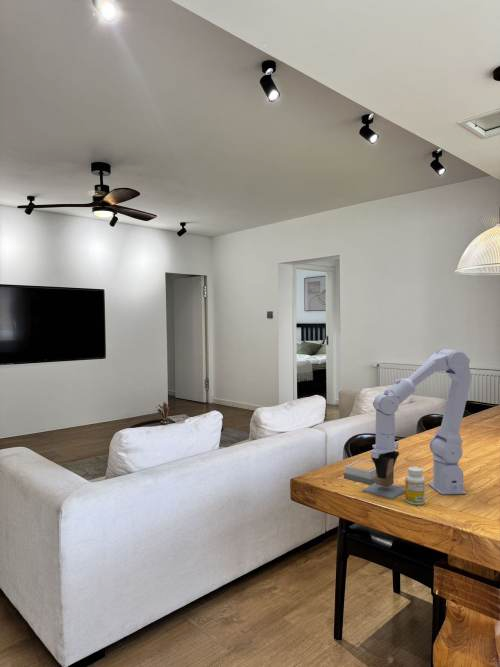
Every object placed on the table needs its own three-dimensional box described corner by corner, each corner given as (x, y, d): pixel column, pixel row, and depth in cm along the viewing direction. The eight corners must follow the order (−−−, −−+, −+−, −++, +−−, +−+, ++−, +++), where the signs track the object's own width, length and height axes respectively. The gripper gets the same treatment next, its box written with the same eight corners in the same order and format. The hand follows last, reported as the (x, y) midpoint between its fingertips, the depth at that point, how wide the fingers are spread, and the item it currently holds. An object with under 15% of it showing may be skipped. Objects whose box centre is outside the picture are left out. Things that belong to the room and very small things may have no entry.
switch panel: (384, 476, 159) (384, 465, 159) (370, 484, 151) (370, 472, 151) (358, 470, 166) (358, 459, 166) (343, 477, 158) (343, 466, 158)
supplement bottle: (409, 496, 141) (409, 464, 141) (427, 501, 137) (427, 468, 137) (402, 502, 137) (402, 469, 136) (421, 506, 133) (421, 472, 133)
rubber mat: (407, 490, 146) (407, 488, 146) (393, 499, 139) (393, 497, 139) (377, 482, 153) (377, 481, 153) (362, 491, 146) (362, 489, 146)
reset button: (378, 471, 159) (378, 465, 159) (368, 476, 154) (368, 470, 154) (360, 467, 163) (360, 461, 163) (349, 471, 158) (349, 465, 158)
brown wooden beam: (393, 483, 146) (393, 458, 146) (387, 487, 143) (387, 461, 143) (381, 480, 149) (381, 456, 149) (375, 484, 146) (375, 458, 146)
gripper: (383, 427, 154) (383, 468, 154) (362, 435, 143) (362, 479, 143) (404, 430, 149) (404, 472, 149) (383, 438, 138) (383, 484, 138)
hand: (385, 476), depth 146 cm, fingers closed on brown wooden beam, 4 cm apart
